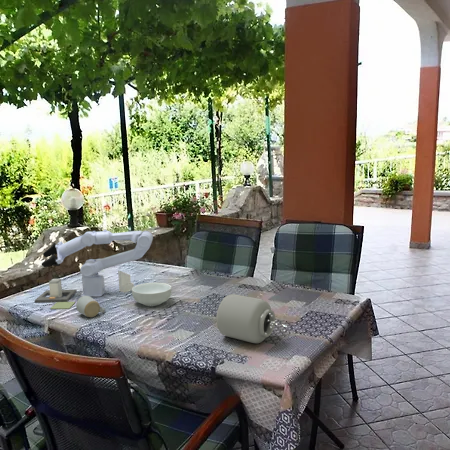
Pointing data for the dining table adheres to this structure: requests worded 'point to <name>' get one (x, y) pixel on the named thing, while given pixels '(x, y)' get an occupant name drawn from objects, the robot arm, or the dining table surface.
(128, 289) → the white wedge bracket
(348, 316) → the dining table surface
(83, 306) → the ceramic mug
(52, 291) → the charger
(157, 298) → the cereal bowl
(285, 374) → the dining table surface
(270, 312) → the jar
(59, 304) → the rubber mat
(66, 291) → the grey square frame
